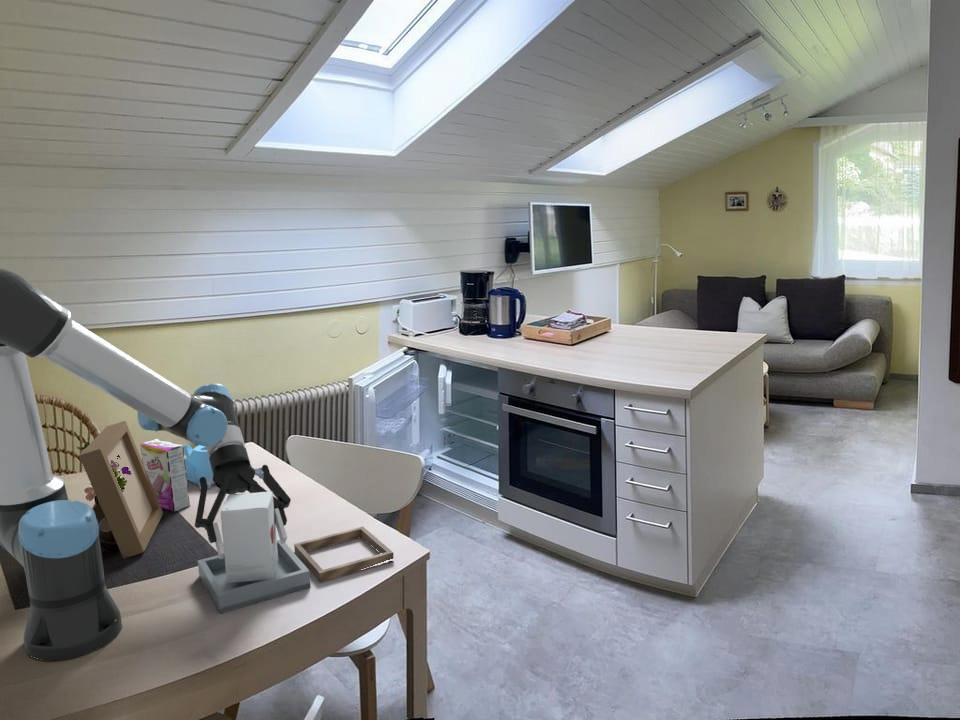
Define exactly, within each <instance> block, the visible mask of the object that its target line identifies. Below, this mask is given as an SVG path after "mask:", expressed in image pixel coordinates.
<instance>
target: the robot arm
mask: <svg viewBox="0 0 960 720" xmlns="http://www.w3.org/2000/svg"><path fill="white" fill-rule="evenodd" d="M26 355H27V356H28V357H29V358H32V359H37V358H44V359H46V360H48V361H49V362H51V363H53V364H54V365H56V366H58V367H60V368H61V369H63V370H65V371H67V372H68V373H71V374H72V375H73V376H75V377H77V378H78V379H81V380H82V381H85V382H86V383H88V384H89V385H91V386H93V387H95V388H97V389H98V390H100V391H101V392H103V393H105V394H107V395H109V396H111V397H112V398H114V399H115V400H117V401H119V402H121V403H122V404H124V405H126V406H128V407H130V408H131V409H132V410H135V411H137V422H138V424H139V426H140V428H141V429H143V430H145V431H155V432H158V431H165V432H168V433H169V434H172V435H174V436H176V437H180V438H182V439H184V440H186V441H188V442H191V443H192V444H194V445H196V446H199V445H201V446H206V449H207V453H208V456H209V461H210V464H211V468H212V472H213V477H212V478H207V479H206V478H205V477H201V478H200V480H199V485H198V489H199V493H200V494H199V498H198V504H197V511H196V515H195V520H194V527H195V528H196V529H200V528H203V529H204V530H205V531H206V536H207V538H208V542H209V543H210V544H213V543H215V548H216V550H217V555H219V559H224V555H225V551H224V546H223V538H222V536H221V532H220V527H219V524H218V521H216V522H214V521H215V520H216V517H217V515H218V512H220V511H219V510H220V508H221V506H222V504H223V502H224V500H225V498H226V496H227V495H230V494H244V493H246V491H247V493H258V492H269V491H270V492H273V502H274V514H275V526H276V532H277V533H278V537H279V540H280V541H281V544H283V543H286V542H287V539H288V535H287V532H286V529H285V526H286V525H287V522H288V519H287V515H286V512H285V509H287V508H289V507H290V504H291V501H292V500H291V499H292V498H290V496H289V495H288V494H287V493H286V491H285V490H284V488H283V487H282V486H281V485H280V484H279V483H278V482H277V480H276V479H275V477H274V476H273V475H272V474H271V472H270V470H269V469H270V468H269V466H268V465H267V464H263V465H262V466H261V467H258V468H254V467H253V466H252V465H251V461H250V457H249V454H248V451H247V448H246V447H245V446H246V444H245V441H244V437H243V434H242V431H241V427H240V424H239V421H238V420H239V419H238V417H237V413H236V410H235V407H234V405H235V404H234V401H233V399H232V396H231V393H230V391H229V390H228V388H227V387H226V386H225V385H223V384H221V383H212V382H211V383H210V384H204V385H202V386H200V387H198V388H197V389H196V390H194V393H193V394H190V393H189V392H187V391H186V390H184V389H183V388H181V387H179V386H178V385H177V384H175V383H174V382H172V381H170V380H168V379H167V378H165V377H164V376H162V375H161V374H159V373H158V372H155V371H154V370H153V369H152V368H149V367H148V366H147V365H145V364H144V363H141V362H140V361H139V360H137V359H135V358H134V357H132V356H130V355H129V354H128V353H125V352H124V351H122V350H120V349H119V348H118V347H116V346H115V345H113V344H111V343H110V342H108V341H106V340H105V339H103V338H102V337H101V336H99V335H97V334H95V333H94V332H92V331H91V330H89V329H87V328H86V327H84V326H83V325H81V324H80V323H78V322H76V321H75V320H74V319H72V314H71V311H70V310H69V309H68V308H66V307H64V306H63V305H61V304H60V303H58V302H57V301H55V300H54V299H53V298H51V297H50V296H49V295H47V294H46V293H44V292H43V291H41V290H40V289H39V288H38V287H36V286H35V285H34V284H33V283H31V281H29V280H28V279H26V278H24V277H23V276H22V275H20V274H17V273H16V272H14V271H11V270H8V269H6V268H5V269H4V268H0V546H1V547H2V548H3V549H4V550H6V551H7V552H8V553H9V554H10V555H11V556H12V557H13V558H14V559H15V560H16V561H17V562H18V563H19V564H20V565H21V566H22V567H23V570H24V573H25V578H26V579H25V580H26V586H27V591H28V592H27V593H28V597H29V604H30V606H29V610H28V611H29V612H28V616H27V620H26V624H25V628H24V634H23V643H24V651H25V650H26V651H25V653H26V652H27V653H28V654H29V655H30V656H32V657H35V658H38V659H42V660H41V661H43V660H56V661H63V660H69V659H74V658H78V657H80V656H84V655H87V654H89V653H91V652H93V651H96V650H99V649H100V648H103V646H105V645H107V644H108V643H110V642H111V641H113V640H114V639H115V638H116V637H117V636H118V635H119V633H120V632H121V630H122V628H123V627H122V626H123V624H122V622H123V621H122V615H121V611H120V609H119V607H118V605H117V604H116V602H115V600H114V599H113V597H112V595H111V594H110V592H109V590H108V588H107V586H106V580H105V571H104V563H103V555H102V548H101V541H100V540H101V539H100V533H99V525H98V521H97V519H96V515H95V512H94V510H93V509H92V508H93V507H91V506H90V505H89V504H88V503H85V502H83V501H79V500H75V501H74V500H73V501H72V500H71V499H69V498H68V494H67V489H66V484H65V480H64V479H63V478H61V477H59V476H57V475H55V474H54V473H53V470H52V465H51V462H50V458H49V453H48V447H47V444H46V440H45V435H44V431H43V427H42V421H41V418H40V413H39V409H38V405H37V404H38V403H37V400H36V396H35V391H34V388H33V387H34V386H33V383H32V380H31V379H32V378H31V373H30V371H29V370H30V369H29V366H28V361H27V356H26ZM255 476H256V477H258V478H259V479H260V480H262V481H263V483H264V484H265V485H266V487H267V488H268V489H269V491H267V490H266V489H265V488H264V487H263V486H261V485H260V484H259V483H258V482H257V481H256V479H254V478H255ZM211 484H212V485H214V486H215V487H216V488H218V489H219V491H218V494H217V495H216V498H215V500H214V503H213V504H212V507H211V509H210V511H209V513H208V516H207V518H203V517H204V513H205V508H206V507H205V506H206V500H207V496H208V495H207V494H208V491H209V490H210V489H211V486H212V485H211ZM27 653H26V654H27ZM30 656H29V657H30Z"/></svg>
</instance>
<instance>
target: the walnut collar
mask: <svg viewBox="0 0 960 720" xmlns="http://www.w3.org/2000/svg"><path fill="white" fill-rule="evenodd" d="M359 537H360V538H361V537H362V538H363V541H365V542H366V541H367V542H368V543H369V544H370V545H372V546H373V547H374V548H375V549H377V550H378V551H379V552H380V553H382V554H379V553H377V554H375V555H371V556H367V557H364V558H360V559H358V560H357V559H356V560H353V561H350V562H346V563H343V564H342V563H341V564H340V565H336V566H332V567H329V568H326V569H323V568H322V567H321V566H320V565H319V564H318V563H317V561H316V560H315V559H313V557H312V556H311V555H310V554H309V552H311V551H316V550H318V549H322V548H326V547H329V546H334V545H337V544H336V543H338V544H341V543H340V542H342V543H345V542H348V540H349V541H352V539H353V540H356V538H357V539H360V538H359ZM362 538H361V539H362ZM344 541H345V542H344ZM367 542H366V543H367ZM368 543H367V544H368ZM333 544H334V545H333ZM369 544H368V545H369ZM370 545H369V546H370ZM293 546H294V547H293V548H294V554H295V555H296V556H297V557H298V558H299V559H300V561H301V562H302V563H303V564H304V565H305V566H306V567H307V569H308V570H309V572H311V573H312V574H313V576H314V577H315V578H316V579H317V580H318V582H320V583H324V582H327V581H331V580H335V579H338V578H341V577H340V576H342V577H344V575H345V576H348V575H352V574H354V573H353V572H355V573H357V572H356V571H359V570H361V569H364V568H367V567H370V566H373V565H375V564H378V563H381V562H384V561H386V560H390V559H393V558H394V555H395V554H394V551H393V550H391V549H390V548H388V547H387V546H386V545H385V544H384V543H383V542H382V541H381V540H379V538H378V537H376V536H375V535H374V534H372V532H370V531H369V530H368V529H366V528H365V527H364V526H360V527H356V528H355V527H354V528H352V529H347V530H344V531H341V532H335V533H332V534H328V535H326V536H325V535H323V536H321V537H317V538H313V539H307V540H305V541H301V542H297V543H294V544H293ZM373 547H372V548H373ZM374 548H373V549H374ZM375 549H374V550H375ZM394 559H395V558H394ZM359 572H360V571H359ZM351 573H352V574H351ZM347 574H348V575H347Z"/></svg>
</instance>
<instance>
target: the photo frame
mask: <svg viewBox="0 0 960 720" xmlns="http://www.w3.org/2000/svg"><path fill="white" fill-rule="evenodd" d="M118 455H119V456H120V458H121V459H120V458H119V457H117V456H118ZM78 457H79V459H80V462H81V464H82V466H83V469H84V471H85V473H86V475H87V478H88V480H89V482H90V484H91V487H92V489H93V491H94V495H95V496H96V500H97V499H98V502H99V503H98V504H96V501H95V502H94V504H93V506H92V507H91V508H92V509H93V510H94V512H95V515H96V519H97V521H98V525H99V523H100V521H101V519H102V518H103V515H105V516H104V518H105V520H106V521H107V524H108V527H109V529H110V531H111V533H112V535H113V538H114V540H115V542H116V544H117V547H118V549H119V552H120V554H121V556H122V559H123V558H124V559H126V558H125V557H127V558H130V557H132V556H135V555H139V554H142V553H144V552H145V550H146V549H147V547H148V545H149V543H150V540H151V538H152V537H153V535H154V532H155V530H156V528H157V527H158V525H159V523H160V521H161V518H162V517H163V515H164V511H163V508H161V506H160V504H159V501H158V499H157V496H156V494H155V491H154V489H153V487H152V484H151V482H150V479H149V477H148V474H147V472H146V470H145V467H144V465H143V461H142V456H141V454H140V453H139V450H138V448H137V446H136V443H135V441H134V438H133V436H132V434H131V431H130V428H129V426H128V423H127V422H126V420H123V421H120V422H116V423H114V424H111V425H107V426H106V427H104V429H102V431H101V432H100V433H99V434H98V435H97V436H96V437H95V438H94V439H93V440H92V441H91V442H90V443H89V445H87V446H86V447H85V448H84V449H83V450H82V452H80V454H79V455H78ZM117 458H118V459H117ZM111 460H113V461H114V462H117V463H118V464H119V466H120V475H121V476H123V477H124V478H126V479H127V483H126V485H125V490H124V492H122V491H121V488H120V486H119V484H118V481H117V479H116V477H115V474H114V472H113V470H112V467H111V465H110V463H109V462H110V461H111ZM123 467H128V468H129V469H130V471H131V472H132V474H131V475H127V474H123V473H122V471H121V469H122V468H123Z"/></svg>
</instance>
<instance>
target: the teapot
mask: <svg viewBox="0 0 960 720" xmlns="http://www.w3.org/2000/svg"><path fill="white" fill-rule="evenodd" d="M182 445H183V444H182ZM183 449H184V456H185V457H184V458H185V467H186V475H187V481H189V482H190V483H192V484H194V483H195V484H194V485H197V484H199V480H200V478H201V477H205V478H206V479H207V478H212V477H213V472H212V468H211V464H210V461H209V456H208V453H207V449H206V446H201V445H196V446H195V447H194V448H192V447H191V446H190V444H184V445H183Z"/></svg>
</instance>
